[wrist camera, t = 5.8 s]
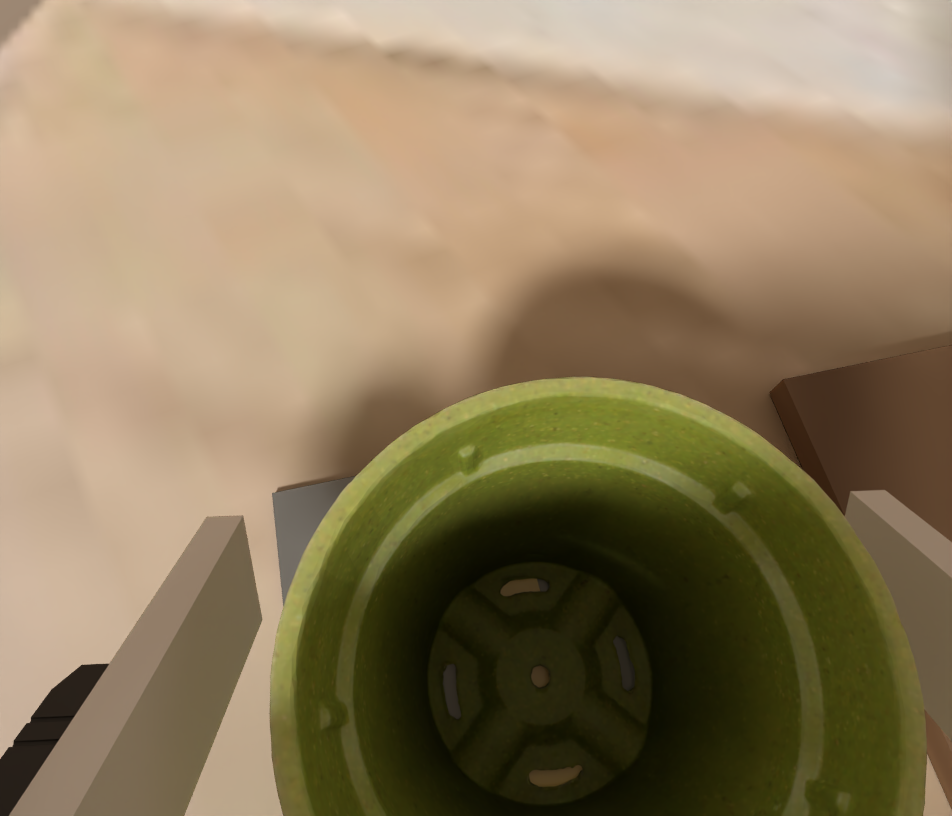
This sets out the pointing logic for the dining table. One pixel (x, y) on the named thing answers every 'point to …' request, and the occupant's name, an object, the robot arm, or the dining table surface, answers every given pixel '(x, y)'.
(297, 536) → the slate mat
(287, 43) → the dining table surface
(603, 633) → the plant pot
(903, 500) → the walnut board
